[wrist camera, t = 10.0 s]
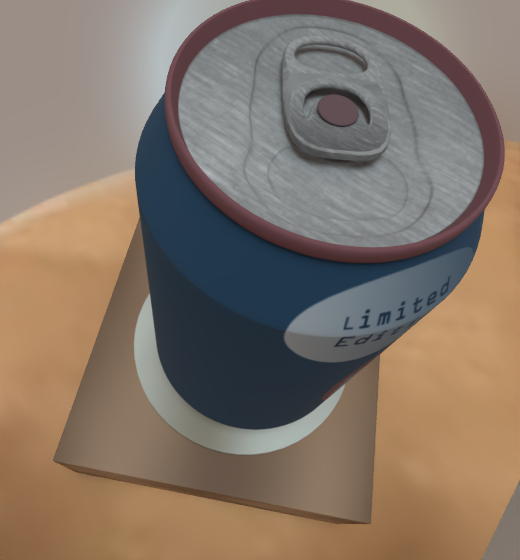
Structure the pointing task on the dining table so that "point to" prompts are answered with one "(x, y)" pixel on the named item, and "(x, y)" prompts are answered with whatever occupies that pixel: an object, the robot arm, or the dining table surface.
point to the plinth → (212, 427)
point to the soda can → (305, 200)
